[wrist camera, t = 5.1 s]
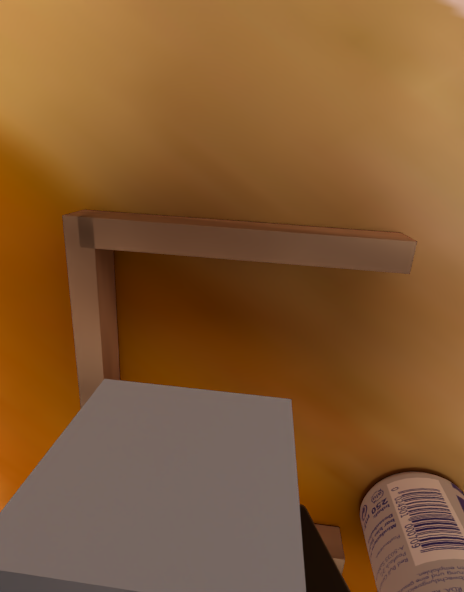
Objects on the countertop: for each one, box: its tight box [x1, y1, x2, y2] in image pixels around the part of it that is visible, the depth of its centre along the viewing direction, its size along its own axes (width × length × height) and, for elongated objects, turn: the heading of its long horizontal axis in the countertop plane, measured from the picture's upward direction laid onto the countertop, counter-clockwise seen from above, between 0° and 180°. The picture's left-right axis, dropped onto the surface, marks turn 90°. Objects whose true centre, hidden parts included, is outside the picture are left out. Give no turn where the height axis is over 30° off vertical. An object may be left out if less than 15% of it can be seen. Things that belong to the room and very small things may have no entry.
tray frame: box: [62, 210, 417, 575], centre depth 18 cm, size 17×13×2 cm
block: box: [0, 379, 306, 592], centre depth 7 cm, size 4×4×4 cm
